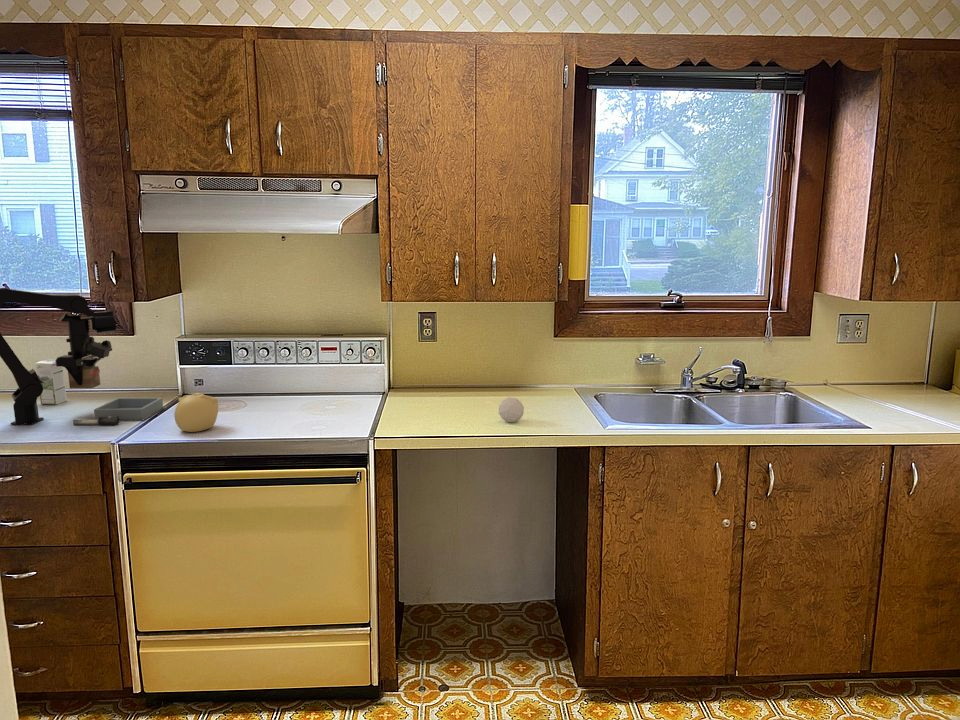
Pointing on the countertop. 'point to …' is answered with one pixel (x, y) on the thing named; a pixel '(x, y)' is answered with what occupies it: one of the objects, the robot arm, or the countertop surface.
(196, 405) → the sculpture
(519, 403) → the ball
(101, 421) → the pin gauge
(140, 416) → the tray
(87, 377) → the block
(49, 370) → the syrup box
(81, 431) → the countertop surface
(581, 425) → the countertop surface
